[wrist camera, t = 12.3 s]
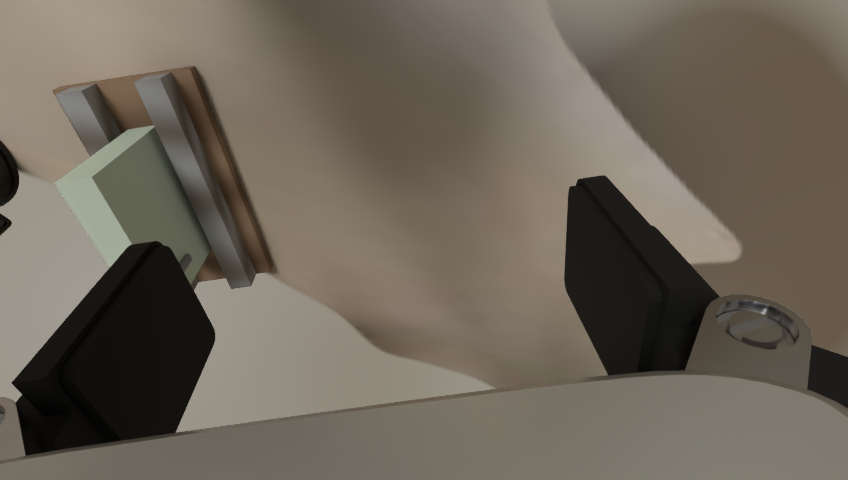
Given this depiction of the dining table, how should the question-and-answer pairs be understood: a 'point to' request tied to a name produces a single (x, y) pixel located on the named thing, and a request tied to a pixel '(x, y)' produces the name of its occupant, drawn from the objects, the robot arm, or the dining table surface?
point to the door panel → (135, 200)
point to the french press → (7, 183)
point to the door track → (212, 144)
